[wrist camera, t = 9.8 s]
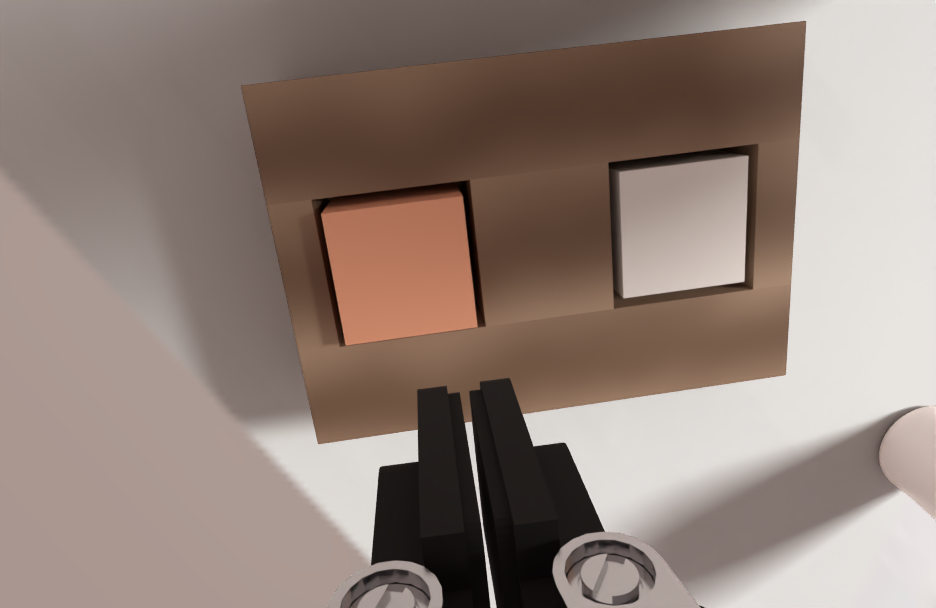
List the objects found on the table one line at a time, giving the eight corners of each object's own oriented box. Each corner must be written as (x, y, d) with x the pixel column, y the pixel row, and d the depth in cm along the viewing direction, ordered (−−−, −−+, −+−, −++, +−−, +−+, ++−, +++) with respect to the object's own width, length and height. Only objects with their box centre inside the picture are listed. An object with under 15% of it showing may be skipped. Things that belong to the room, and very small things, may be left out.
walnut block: (275, 87, 27) (240, 85, 21) (724, 36, 28) (806, 20, 22) (333, 381, 31) (318, 444, 26) (719, 326, 33) (785, 375, 27)
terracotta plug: (333, 196, 26) (321, 214, 22) (453, 181, 26) (462, 196, 22) (353, 311, 27) (345, 345, 24) (467, 295, 28) (477, 327, 24)
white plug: (589, 161, 27) (619, 171, 23) (701, 147, 27) (748, 155, 24) (594, 271, 29) (623, 298, 25) (699, 257, 29) (744, 281, 25)
